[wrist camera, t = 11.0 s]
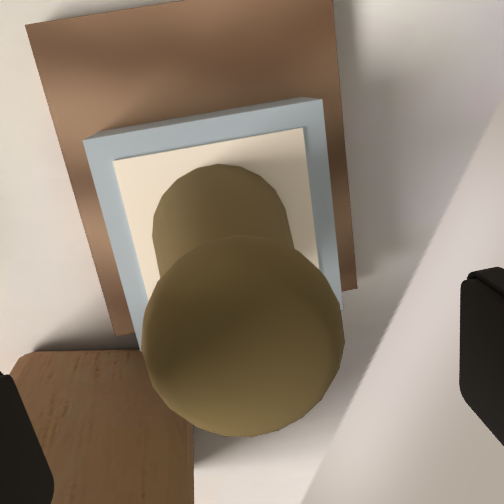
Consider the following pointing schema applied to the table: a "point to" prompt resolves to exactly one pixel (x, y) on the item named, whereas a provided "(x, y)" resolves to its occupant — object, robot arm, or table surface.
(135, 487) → the block
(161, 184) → the slate plinth
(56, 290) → the table surface
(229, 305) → the olive pawn
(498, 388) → the robot arm
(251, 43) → the brown board
